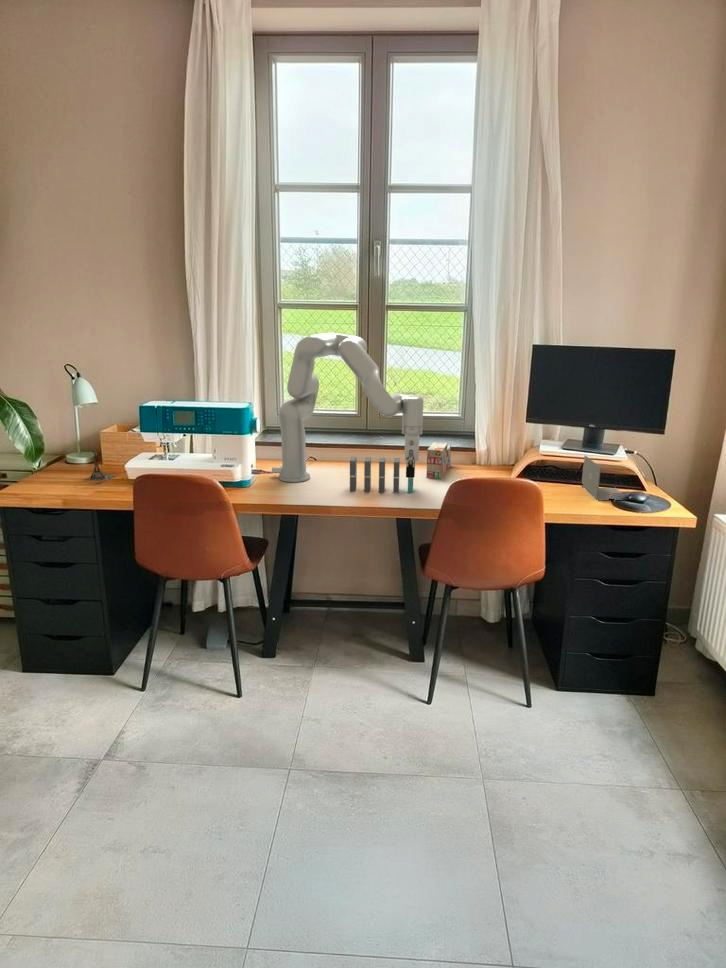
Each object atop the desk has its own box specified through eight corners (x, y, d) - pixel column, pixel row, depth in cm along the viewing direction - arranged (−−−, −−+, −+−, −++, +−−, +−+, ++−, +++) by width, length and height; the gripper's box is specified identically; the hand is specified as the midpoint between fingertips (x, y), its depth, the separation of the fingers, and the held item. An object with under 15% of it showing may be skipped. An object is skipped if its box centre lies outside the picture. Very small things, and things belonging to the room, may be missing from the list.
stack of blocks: (436, 464, 289) (437, 437, 285) (450, 466, 287) (451, 438, 283) (426, 478, 269) (427, 448, 266) (441, 479, 268) (442, 450, 264)
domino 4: (393, 492, 250) (393, 462, 247) (393, 488, 256) (394, 458, 252) (398, 492, 250) (399, 462, 246) (399, 488, 256) (399, 458, 252)
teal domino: (413, 488, 255) (414, 458, 252) (413, 493, 250) (413, 462, 246) (407, 488, 255) (408, 458, 252) (407, 493, 250) (408, 462, 246)
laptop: (630, 501, 243) (634, 467, 239) (595, 501, 243) (599, 467, 239) (612, 487, 260) (616, 455, 256) (580, 487, 260) (584, 454, 256)
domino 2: (364, 491, 251) (364, 461, 247) (365, 487, 257) (365, 457, 253) (369, 492, 251) (369, 461, 247) (370, 487, 257) (371, 457, 253)
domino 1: (349, 491, 251) (349, 460, 248) (351, 486, 257) (351, 456, 254) (355, 491, 251) (355, 461, 248) (356, 486, 257) (356, 456, 253)
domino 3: (378, 492, 251) (379, 461, 247) (379, 487, 256) (380, 457, 253) (384, 492, 250) (384, 461, 247) (384, 487, 256) (385, 457, 253)
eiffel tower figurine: (99, 486, 258) (95, 452, 254) (76, 484, 260) (71, 451, 256) (120, 475, 272) (117, 443, 268) (98, 473, 274) (94, 442, 270)
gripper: (422, 435, 237) (420, 480, 242) (422, 424, 253) (420, 467, 259) (401, 434, 237) (399, 479, 243) (402, 424, 254) (401, 467, 259)
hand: (410, 473), depth 251 cm, fingers open, 9 cm apart
